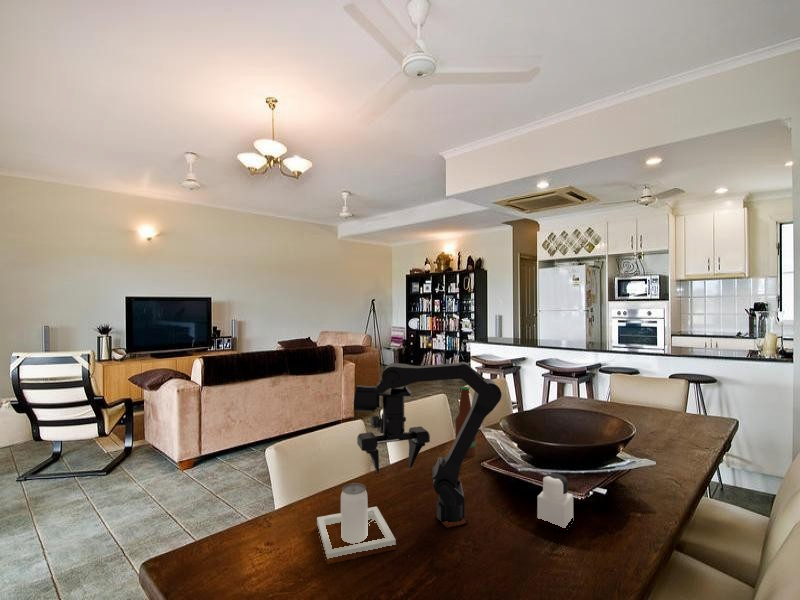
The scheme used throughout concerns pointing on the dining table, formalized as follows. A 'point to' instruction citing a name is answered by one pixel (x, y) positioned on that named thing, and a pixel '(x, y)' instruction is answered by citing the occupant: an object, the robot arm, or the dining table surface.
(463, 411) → the bottle
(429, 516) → the dining table surface
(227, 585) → the dining table surface
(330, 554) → the tray
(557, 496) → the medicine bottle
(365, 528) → the can
